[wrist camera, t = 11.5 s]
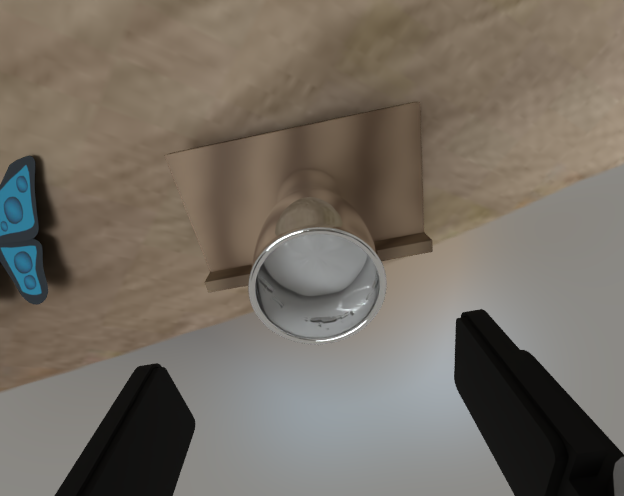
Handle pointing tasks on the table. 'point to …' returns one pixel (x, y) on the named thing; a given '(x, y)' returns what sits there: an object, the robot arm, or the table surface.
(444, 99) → the table surface
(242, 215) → the display ledge
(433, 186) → the table surface
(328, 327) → the beer glass
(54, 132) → the table surface
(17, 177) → the decorative butterfly
